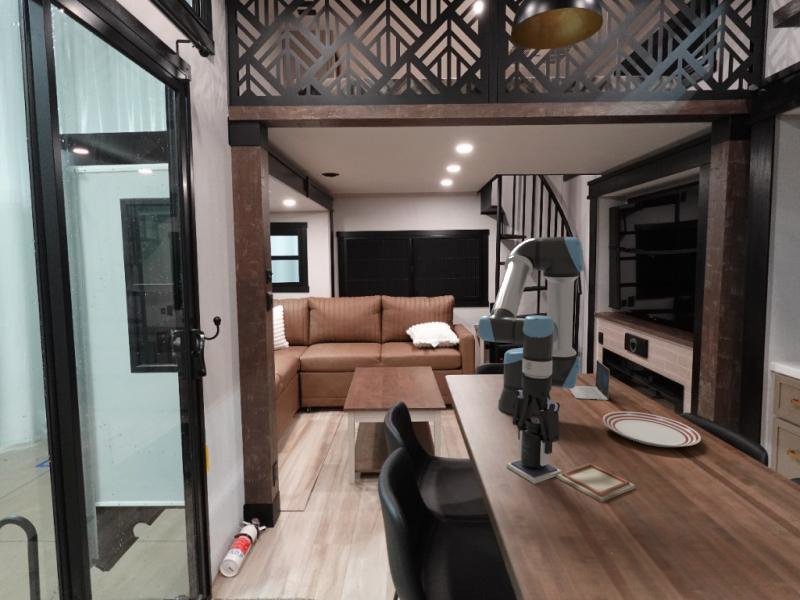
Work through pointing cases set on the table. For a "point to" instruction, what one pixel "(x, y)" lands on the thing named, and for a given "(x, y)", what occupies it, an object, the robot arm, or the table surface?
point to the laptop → (601, 386)
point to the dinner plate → (651, 429)
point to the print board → (596, 482)
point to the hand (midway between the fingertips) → (534, 458)
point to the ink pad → (534, 471)
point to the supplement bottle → (531, 444)
